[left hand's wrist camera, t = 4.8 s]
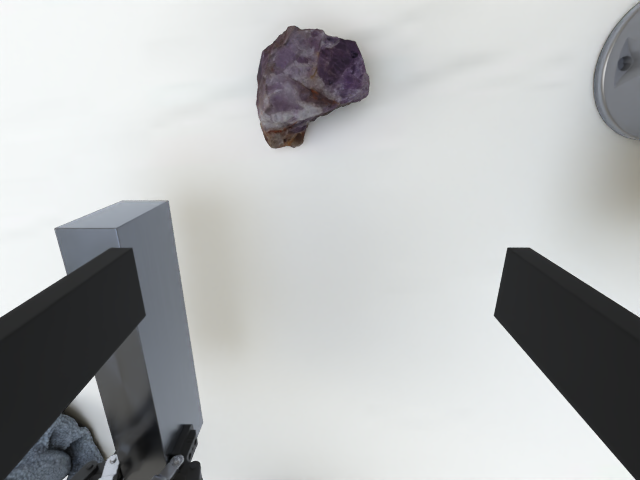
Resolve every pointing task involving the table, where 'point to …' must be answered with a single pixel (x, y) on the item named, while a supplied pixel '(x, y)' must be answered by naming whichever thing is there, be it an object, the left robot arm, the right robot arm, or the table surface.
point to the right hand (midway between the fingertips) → (166, 430)
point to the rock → (306, 82)
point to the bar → (142, 336)
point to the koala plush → (58, 453)
